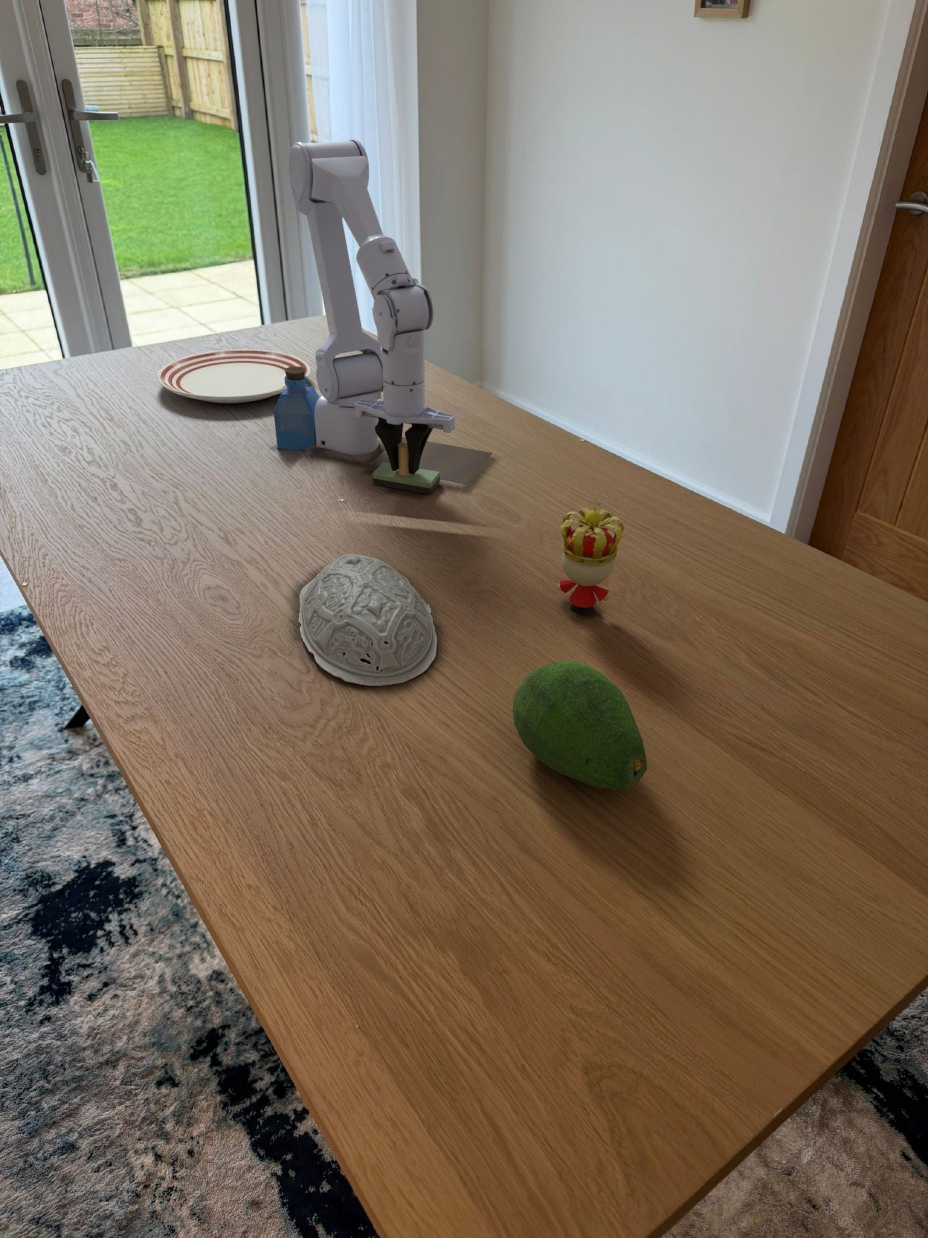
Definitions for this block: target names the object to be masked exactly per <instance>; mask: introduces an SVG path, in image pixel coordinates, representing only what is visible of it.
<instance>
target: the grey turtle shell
mask: <svg viewBox="0 0 928 1238" xmlns="http://www.w3.org/2000/svg"><path fill="white" fill-rule="evenodd" d="M298 598H299V603H300V604H299V606H300V607H299V613H298V616H299V617H298V623H299V624H300V627H299V631H300V637H301V639H302V641H303V643H304V645H305V647H306V648H307V650H308V652H309V653H311V654H313V657H314V660H315V662H316V663H317V665H318V666H319V667H320V668H322V670H324V671H326V672H327V673H329V674H330V675H332V676H334V677H336V678H340V679H341V680H343V682H346V683H352V684H358V685H360V686H368V687H382V686H392V685H399V684H404V683H406V682H408V681H410V680H412V679H414V678H416V677H418V676H420V675H421V674H423V673H424V672H426V671H427V670H428V669H429V667H430V666H431V664H432V663H433V661H435V658H436V656H437V647H438V638H437V633H436V627H435V625H434V618H433V616H432V612H433V611H432V608H431V606H430V603H428V602H427V601H426V602H425V600H424V599H422V597H421V595H420V593H418V591H417V590H416V588H414V586H413V585H411V583H410V581H409V579H408V578H407V577H406V576H404V575H403V574H401V573H400V572H399V571H397V569H395V568H394V567H393V565H391V564H389V563H387V562H386V561H383V560H381V559H379V558H375V557H371V556H370V555H365V554H356V553H353V554H352V553H346V554H343V555H341V556H336V558H335V559H333V560H332V561H331V562H329V564H327V565H325V566H324V567H323V568H322V569H321V570H320V572H319V573H316V576H315V577H314V578H312V579H311V580H310V581H309V582H308V583H307V584H306V585H305V586H303V587H302V589H301V590H300V592H299V596H298ZM344 653H345V654H344ZM367 654H368V655H367ZM361 659H364V660H366V661H369V662H370V663H368V662H366V661H364V662H363V661H362V660H361ZM377 667H378V669H377Z"/></svg>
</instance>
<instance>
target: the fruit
mask: <svg viewBox="0 0 928 1238" xmlns="http://www.w3.org/2000/svg"><path fill="white" fill-rule="evenodd" d="M511 712H512V719H513V724H514V727H515V729H516V732H517V734H518V736H519V739H520V740H521V741H522V743H523V745H524V746H525V747H526V748H527V750H528V751H529V752H530V753H531V754H532V755H533V757H534V758H535V759H537V760H538V761H540V762H541V763H543V764H544V765H546V766H548V767H549V768H550V769H552V770H554V771H555V772H557V773H559V774H561V775H563V776H566V777H568V778H570V779H573V780H576V781H578V782H582V783H584V784H586V785H589V786H592V787H594V788H597V789H605V790H615V791H617V790H618V791H622V790H626V789H628V788H631V787H634V786H635V785H636V784H637V783H639V781H640V780H641V779H642V778H643V777H644V775H645V773H646V772H647V770H648V762H647V755H646V749H645V745H644V744H645V743H644V739H643V737H642V734H641V732H640V730H639V728H638V725H637V722H636V720H635V717H634V714H633V712H632V709H631V707H630V705H629V703H628V701H627V699H626V698H625V696H624V694H623V692H622V691H621V689H620V688H619V687H618V686H617V685H615V684H614V682H612V681H611V680H610V679H609V678H608V677H607V676H606V675H605V674H603V672H602V671H600V670H598V669H596V668H594V667H592V666H590V665H589V664H585V663H582V662H578V661H575V660H567V659H565V660H559V661H554V662H550V663H547V664H543V665H541V666H539V667H537V668H536V669H534V670H533V671H531V673H528V675H526V676H525V677H524V678H523V680H521V682H520V684H519V685H518V686H517V689H516V691H515V693H514V695H513V704H512V711H511Z"/></svg>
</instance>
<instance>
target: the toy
mask: <svg viewBox="0 0 928 1238" xmlns="http://www.w3.org/2000/svg"><path fill="white" fill-rule="evenodd" d="M593 500H594V501H592V500H589V505H590V504H591V505H592V504H593V509H591V507H581V508H580V509H579V511H578V512H577V511H573V510H572V511H569V512H567V513H566V514H565V515H564V516H563V518H562V523H561V525H560V526H559V527H560V528H559V531H560V534H561V536H562V540H563V541H562V544H561V545H562V547H561V551H562V552H561V561H560V562H561V567H562V570H563V572H564V574H565V575H566V577H567V578H568V579H560V580H559V583H558V585H557V589H558V590H559V591H560V592H562V593H564V594H567V593H568V592H569V591H571V590H572V589H573V588H574V587H575V589H574V590H573V592H571V594H570V595H569V597H568V600H569V602H570V604H569V609H570V611H572V612H574V613H582V614H584V615H588V616H589V615H592V614H594V613H595V611H596V610H595V605H596V604H597V600H598V601H599V602H601V601H606V602H607V601H609V600H610V599H611V593H610V590H608V589H606V588H604V587H601V586H599V585H600V584H601V583H603V582H605V581H606V580H607V579H609V577H610V575H611V574H612V573H613V572H614V568H615V564H616V558H617V554H618V544H619V543H620V542H621V540H622V539H623V533H624V530H625V525H624V523H623V521H622V520H621V519H620V518H619V517H618V516H617V515H616V516H615V515H614V516H613V515H612V513H611V511H609V510H607V509H603V508H601V509H600V510H599V511H598V510H597V509H596V508H597V507H596V505H597V506H599V507H600V506H601V504H602V503H601V502H597V501H598V498H596V497H594V498H593ZM571 515H573V517H574V518H575V519H577V520H573V519H572V518H570V517H571ZM612 522H613V523H614V522H617V524H618V526H617V525H613V524H611V523H612ZM576 524H577V525H578V527H576V528H574V529H573V528H572V526H573V525H576ZM608 530H609V531H612V532H613V534H614V536H612V535H611V533H609V531H608Z"/></svg>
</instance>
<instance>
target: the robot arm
mask: <svg viewBox="0 0 928 1238" xmlns="http://www.w3.org/2000/svg"><path fill="white" fill-rule="evenodd" d="M287 174H288V178H289V182H290V184H289V185H290V188H291V194H292V199H293V202H294V205H295V210H296V211H297V212H299V213H300V214H302V215H305V216H306V221H307V225H308V231H309V235H310V240H311V245H312V250H313V255H314V261H315V265H316V271H317V276H318V282H319V287H320V292H321V296H322V297H321V298H322V302H323V308H324V313H325V317H326V324H327V328H328V336H327V337H326V339H325V340H324V341H323V342H322V343H321V344H320V345H319V347H318V348H317V350H316V351H315V352H314V354H315V355H314V356H315V364H316V369H315V370H316V371H315V372H316V373H315V376H316V377H315V378H316V383H317V387H318V390H319V392H320V393H321V395H319V399H318V401H317V403H316V407H315V415H314V417H315V431H316V443H315V444H316V447H317V448H322V449H326V450H330V451H331V450H332V451H336V452H338V453H341V454H344V455H351V456H361V455H365V454H370V453H373V452H374V451H376V450H378V448H379V444H380V443H379V440H380V441H381V443H382V445H383V448H384V450H386V452H387V455H388V458H389V461H390V465H391V468H392V471H397V470H398V469H399V464H398V444H399V443H400V442H402V437H403V432H404V437H406V441H407V447H408V469H409V474H415V473H416V472H417V471H418V470H419V465H420V460H421V456H422V453H423V450H424V447H425V444H426V442H427V441H428V439H429V437H430V435H431V434H432V431H433V430H434V429H436V430H440V431H442V432H444V433H447V434H451V433H452V432H453V431H454V429H455V428H456V415H455V414H451V413H447V412H444V411H440V410H438V409H435V408H432V407H429V406H426V405H425V404H426V401H425V400H426V399H425V398H426V397H425V395H426V394H425V393H426V389H425V388H426V386H425V383H426V381H425V380H426V379H425V378H426V376H425V373H426V371H425V370H426V369H425V368H426V364H425V359H426V358H425V355H426V352H425V348H426V345H425V344H426V341H425V336H426V335H425V334H426V333H425V331H427V330H429V329H430V328H431V326H432V324H433V321H434V305H433V301H432V298H431V295H430V291H429V290H428V288H427V287H426V286H425V285H424V284H422V283H420V282H419V279H417V278H416V277H412V275H411V273H410V271H409V269H408V267H407V266H408V265H406V262H405V260H404V258H403V256H402V253H401V251H400V249H399V246H398V245H397V243H396V241H395V240H394V239H393V238H392V237H390V236H386V235H384V232H383V230H382V227H381V224H380V221H379V218H378V215H377V213H376V210H375V207H374V203H373V201H372V198H371V195H370V192H369V189H368V188H369V182H370V163H369V157H368V154H367V151H366V149H365V147H364V146H363V144H362V143H361V142H360V141H359V140H358V139H356V138H355V139H349V140H343V141H342V140H339V141H324V142H323V141H322V142H321V141H320V142H305V143H304V142H301V141H298V142H294V143H293V145H292V147H291V148H290V151H289V154H288V162H287ZM343 220H344V221H343ZM343 222H345V224H346V225H347V228H348V229H349V231H350V232H351V235H352V236H353V238H354V240H355V241H356V243H357V245H358V247H359V248H358V249H357V253H356V257H355V260H356V263H357V265H358V267H359V269H360V272H361V274H362V276H363V278H364V281H365V283H366V285H367V288H368V290H369V292H370V294H371V296H372V299H373V307H372V308H371V310H372V317H373V322H374V324H375V327H376V334H377V339H375V338H374V337H373V336H371V335H369V334H368V333H366V332H364V331H363V326H362V321H361V315H360V310H359V304H358V299H357V298H358V297H357V294H356V293H357V292H356V288H355V282H354V277H353V271H352V266H351V260H350V255H349V250H348V249H349V248H348V244H347V239H346V234H345V227H344V223H343ZM351 352H360V353H357V354H352V355H351V354H350V355H344V356H339V357H336V356H338V355H340V354H346V353H351ZM382 394H383V395H382ZM382 396H383V397H382ZM382 398H383V400H381V399H382ZM404 424H407V425H411V427H409V428H408V429H407V430H405V431H403V430H404Z"/></svg>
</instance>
